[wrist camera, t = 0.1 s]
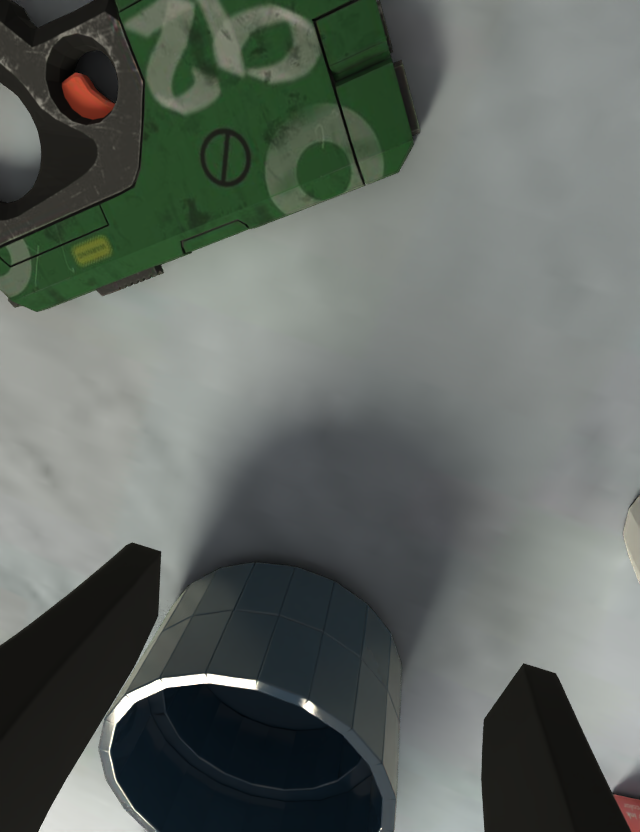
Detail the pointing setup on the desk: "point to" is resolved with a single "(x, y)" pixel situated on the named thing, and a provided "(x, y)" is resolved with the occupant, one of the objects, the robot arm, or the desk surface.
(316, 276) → the desk surface
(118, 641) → the robot arm
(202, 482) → the desk surface
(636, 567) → the white tapered cylinder
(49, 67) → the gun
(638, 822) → the ink cartridge box
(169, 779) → the bowl
